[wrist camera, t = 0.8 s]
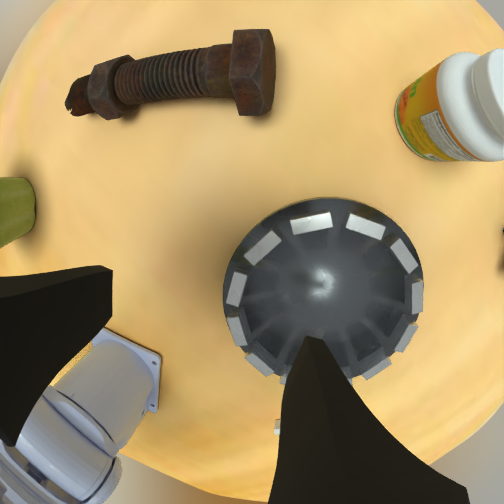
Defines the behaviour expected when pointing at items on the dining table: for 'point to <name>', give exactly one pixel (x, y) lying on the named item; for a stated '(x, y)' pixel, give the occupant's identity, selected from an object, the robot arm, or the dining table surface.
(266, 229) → the carrier
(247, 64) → the bolt
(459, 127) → the supplement bottle
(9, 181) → the plant pot
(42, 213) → the dining table surface
